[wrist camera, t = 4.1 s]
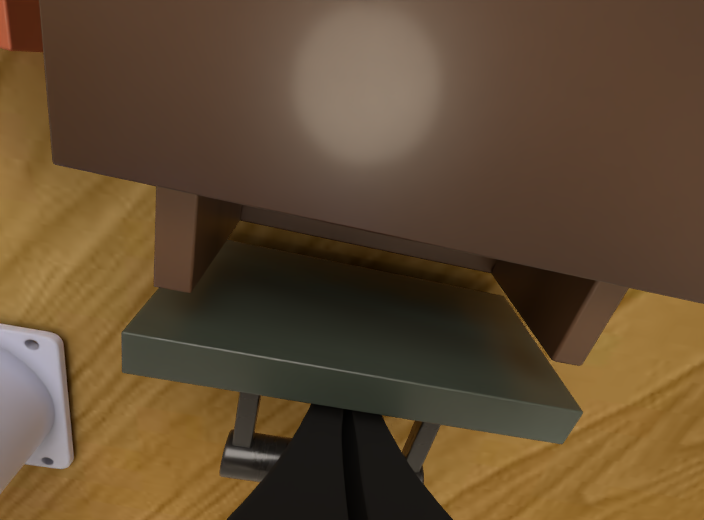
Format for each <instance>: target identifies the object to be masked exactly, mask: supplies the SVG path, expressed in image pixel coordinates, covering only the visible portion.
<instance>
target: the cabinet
mask: <svg viewBox="0 0 704 520" xmlns="http://www.w3.org/2000/svg"><path fill="white" fill-rule="evenodd" d="M39 8H40V20H41V31H42V43H43V55H44V67H45V78H46V90H47V102H48V113H49V125H50V137H51V148H52V160H53V163H54V164H55V165H59V166H64V167H69V168H73V169H78V170H83V171H87V172H92V173H97V174H101V175H106V176H111V177H115V178H120V179H125V180H129V181H134V182H138V183H143V184H148V185H152V186H157V187H162V188H166V189H171V190H176V191H180V192H185V193H190V194H194V195H199V196H204V197H208V198H213V199H218V200H222V201H227V202H232V203H236V204H241V205H246V206H250V207H255V208H260V209H264V210H269V211H274V212H278V213H283V214H288V215H292V216H297V217H302V218H306V219H311V220H316V221H320V222H325V223H330V224H334V225H339V226H344V227H348V228H353V229H358V230H362V231H367V232H372V233H376V234H381V235H386V236H390V237H395V238H399V239H404V240H409V241H413V242H418V243H423V244H427V245H432V246H437V247H441V248H446V249H451V250H455V251H460V252H465V253H469V254H474V255H479V256H483V257H488V258H493V259H497V260H502V261H507V262H511V263H516V264H521V265H525V266H530V267H535V268H539V269H544V270H549V271H553V272H558V273H563V274H567V275H572V276H577V277H581V278H586V279H591V280H595V281H600V282H605V283H609V284H614V285H619V286H623V287H628V288H633V289H637V290H642V291H647V292H651V293H656V294H660V295H665V296H670V297H674V298H679V299H684V300H688V301H693V302H698V303H702V304H704V0H39Z"/></svg>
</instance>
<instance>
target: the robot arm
mask: <svg viewBox="0 0 704 520" xmlns="http://www.w3.org/2000/svg"><path fill="white" fill-rule="evenodd" d="M33 340H34V341H36V342H37V343H36V342H34V341H33ZM73 460H74V453H73V442H72V431H71V420H70V409H69V398H68V387H67V376H66V365H65V355H64V344H63V341H62V339H61V338H60V337H59V336H58V335H57V334H55V333H52V332H47V331H42V330H36V329H30V328H24V327H18V326H12V325H6V324H0V494H1V492H2V491H3V490H4V489H5V488H6V486H7V485H8V484H9V483H10V481H11V480H12V479H13V478H14V476H15V475H16V474H17V473H18V471H19V470H20V469H21V468H22V466H23V465H24V464H27V465H35V466H42V467H50V468H57V469H64V468H68V467H69V466H70V464H71V463H72V461H73ZM227 520H453V519H452V518H451V517H450V516H449V514H448V513H447V512H446V511H445V510H444V509H443V508H442V507H441V505H440V504H439V503H438V502H437V501H436V499H435V498H434V497H433V496H432V494H431V493H430V492H429V491H428V489H427V488H426V487H425V486H424V484H423V483H422V482H421V480H420V479H419V478H418V476H417V475H416V473H415V472H414V470H413V469H412V468H411V466H410V465H409V463H408V462H407V460H406V458H405V457H404V455H403V454H402V452H401V451H400V449H399V447H398V445H397V444H396V442H395V440H394V438H393V437H392V435H391V433H390V431H389V429H388V427H387V425H386V423H385V421H384V419H383V417H382V415H379V414H373V413H366V412H360V411H354V410H348V409H342V408H336V407H330V406H323V405H317V404H311V405H310V408H309V410H308V412H307V413H306V415H305V417H304V419H303V421H302V423H301V425H300V426H299V428H298V430H297V432H296V433H295V435H294V437H293V438H292V440H291V441H290V443H289V444H288V446H287V447H286V449H285V450H284V452H283V453H282V455H281V456H280V457H279V459H278V460H277V462H276V463H275V464H274V466H273V467H272V468H271V470H270V471H269V472H268V474H267V475H266V476H265V477H264V478H263V480H262V481H261V482H260V483H259V484H258V486H257V487H256V488H255V489H254V490H253V492H252V493H251V494H250V495H249V496H248V497H247V498H246V499H245V500H244V502H243V503H242V504H241V505H240V506H239V507H238V508H237V509H236V510H235V511H234V512H233V513H232V514H231V515H230V516H229V517H228V518H227Z"/></svg>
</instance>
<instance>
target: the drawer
mask: <svg viewBox="0 0 704 520" xmlns="http://www.w3.org/2000/svg"><path fill="white" fill-rule="evenodd" d="M240 220H241V221H245V222H250V223H255V224H260V225H264V226H269V227H274V228H279V229H283V230H288V231H293V232H298V233H302V234H307V235H312V236H317V237H322V238H326V239H331V240H336V241H341V242H345V243H350V244H355V245H360V246H364V247H369V248H374V249H379V250H383V251H388V252H393V253H398V254H402V255H407V256H412V257H417V258H421V259H426V260H431V261H436V262H440V263H445V264H450V265H455V266H460V267H464V268H469V269H474V270H479V271H483V272H488V273H492V275H493V276H494V278H495V279H496V281H497V282H498V284H499V285H500V286H501V288H502V289H503V291H504V292H505V294H506V295H507V296H508V298H509V299H510V301H511V302H512V304H513V305H514V306H515V308H516V309H517V311H518V312H519V314H520V315H521V317H522V318H523V319H524V321H525V322H526V324H527V325H528V327H529V328H530V329H531V331H532V332H533V334H534V335H535V337H536V338H537V339H538V341H539V342H540V344H541V345H542V347H543V348H544V349H545V351H546V352H547V354H548V355H549V357H550V358H551V359H552V360H553V361H556V362H561V363H567V364H572V365H577V366H580V365H582V364H583V362H584V361H585V359H586V357H587V356H588V354H589V353H590V351H591V349H592V348H593V346H594V344H595V343H596V341H597V339H598V338H599V336H600V334H601V333H602V331H603V330H604V328H605V326H606V325H607V323H608V321H609V320H610V318H611V316H612V315H613V313H614V312H615V310H616V308H617V307H618V305H619V303H620V302H621V300H622V298H623V297H624V295H625V294H626V292H627V290H628V289H629V288H628V287H623V286H619V285H614V284H609V283H605V282H600V281H595V280H591V279H586V278H581V277H577V276H572V275H567V274H563V273H558V272H553V271H549V270H544V269H539V268H535V267H530V266H525V265H521V264H516V263H511V262H507V261H502V260H497V259H493V258H488V257H483V256H479V255H474V254H469V253H465V252H460V251H455V250H451V249H446V248H441V247H437V246H432V245H427V244H423V243H418V242H413V241H409V240H404V239H399V238H395V237H390V236H386V235H381V234H376V233H372V232H367V231H362V230H358V229H353V228H348V227H344V226H339V225H334V224H330V223H325V222H320V221H316V220H311V219H306V218H302V217H297V216H292V215H288V214H283V213H278V212H274V211H269V210H264V209H260V208H255V207H250V206H246V205H241V204H236V203H232V202H227V201H222V200H218V199H213V198H208V197H204V196H199V195H194V194H190V193H185V192H180V191H176V190H171V189H166V188H162V187H157V186H156V220H155V259H154V286H155V287H159V288H158V290H157V291H156V292H155V293H154V294H153V295H152V297H151V298H150V299H149V300H148V301H147V303H146V304H145V305H144V306H143V307H142V309H141V310H140V311H139V312H138V313H137V315H136V316H135V317H134V318H133V319H132V321H131V322H130V323H129V324H128V325H127V326H126V328H125V329H124V330H123V331H122V372H123V373H127V374H133V375H139V376H145V377H151V378H158V379H164V380H170V381H176V382H182V383H188V384H194V385H201V386H207V387H213V388H219V389H225V390H231V391H237V392H240V394H239V400H238V407H237V414H236V420H235V427H234V429H233V430H231V431H230V432H229V435H228V438H227V441H226V444H225V448H224V452H223V456H222V460H221V465H220V476H221V477H226V478H233V479H240V480H248V481H255V482H261V481H262V480H263V478H264V477H265V476H266V475H267V474H268V472H269V471H270V470H271V468H272V467H273V466H274V464H275V463H276V462H277V460H278V459H279V457H280V456H281V455H282V453H283V452H284V450H285V449H286V447H287V446H288V444H289V443H290V441H291V440H292V438H287V437H280V436H274V435H267V434H261V433H255V428H256V422H257V417H258V411H259V406H260V400H261V395H262V396H268V397H274V398H280V399H287V400H293V401H299V402H305V403H311V404H317V405H323V406H330V407H336V408H342V409H348V410H354V411H360V412H366V413H373V414H379V415H385V416H391V417H397V418H403V419H409V420H415V422H414V424H413V426H412V429H411V431H410V434H409V436H408V438H407V441H406V443H405V446H404V448H403V450H402V454H403V455H404V457H405V458H406V460H407V462H408V463H409V465H410V466H411V468H412V469H413V470H414V472H415V473H416V475H417V476H418V478H419V479H420V480H421V482H422V483H423V484H424V472H423V466H422V465H423V463H424V460H425V458H426V456H427V454H428V452H429V449H430V447H431V445H432V443H433V441H434V438H435V436H436V434H437V432H438V430H439V427H440V425H446V426H452V427H458V428H465V429H471V430H477V431H483V432H489V433H495V434H501V435H508V436H514V437H520V438H526V439H532V440H538V441H544V442H551V443H557V444H563V443H564V441H565V440H566V438H567V437H568V435H569V434H570V432H571V431H572V429H573V428H574V426H575V425H576V423H577V422H578V420H579V419H580V417H581V415H582V414H583V411H582V410H581V408H580V407H579V405H578V404H577V402H576V401H575V400H574V398H573V397H572V395H571V394H570V392H569V391H568V389H567V388H566V386H565V385H564V383H563V382H562V381H561V379H560V378H559V376H558V375H557V373H556V372H555V370H554V369H553V367H552V366H551V364H550V363H549V362H548V360H547V359H546V357H545V356H544V354H543V353H542V351H541V350H540V348H539V347H538V345H537V344H536V342H535V341H534V340H533V338H532V337H531V335H530V334H529V332H528V331H527V329H526V328H525V326H524V325H523V323H522V322H521V321H520V319H519V318H518V316H517V315H516V313H515V312H514V310H513V309H512V307H511V306H510V304H509V303H508V302H507V300H506V299H505V297H504V296H501V295H496V294H491V293H487V292H482V291H477V290H472V289H467V288H462V287H457V286H452V285H447V284H442V283H438V282H433V281H428V280H423V279H418V278H413V277H408V276H403V275H398V274H393V273H389V272H384V271H379V270H374V269H369V268H364V267H359V266H354V265H349V264H344V263H340V262H335V261H330V260H325V259H320V258H315V257H310V256H305V255H300V254H295V253H291V252H286V251H281V250H276V249H271V248H266V247H261V246H256V245H251V244H246V243H242V242H237V241H232V240H227V239H228V238H229V236H230V235H231V233H232V232H233V230H234V229H235V227H236V226H237V224H238V223H239V221H240Z"/></svg>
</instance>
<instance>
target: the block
mask: <svg viewBox="0 0 704 520" xmlns="http://www.w3.org/2000/svg"><path fill="white" fill-rule="evenodd" d="M0 48H1V49H5V50H9V51H26V52H43V43H42V31H41V20H40V8H39V0H0Z"/></svg>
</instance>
